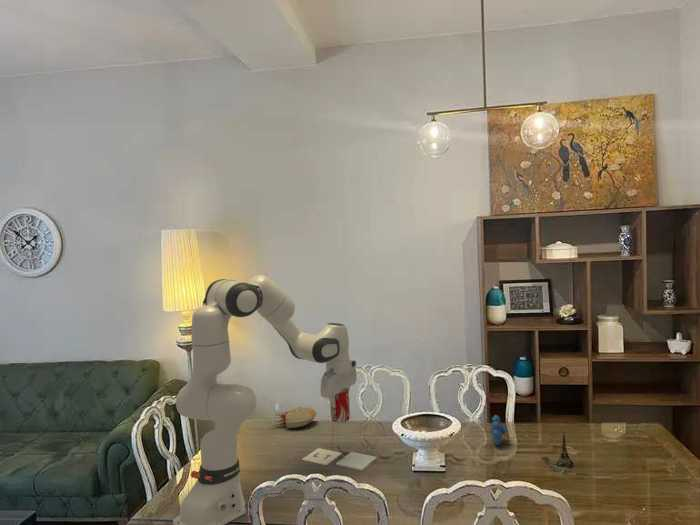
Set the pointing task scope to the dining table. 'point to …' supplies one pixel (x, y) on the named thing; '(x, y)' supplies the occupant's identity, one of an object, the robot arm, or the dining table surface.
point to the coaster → (356, 461)
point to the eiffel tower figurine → (562, 461)
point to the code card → (322, 456)
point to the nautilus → (296, 417)
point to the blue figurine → (497, 430)
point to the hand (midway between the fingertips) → (339, 402)
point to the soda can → (341, 407)
